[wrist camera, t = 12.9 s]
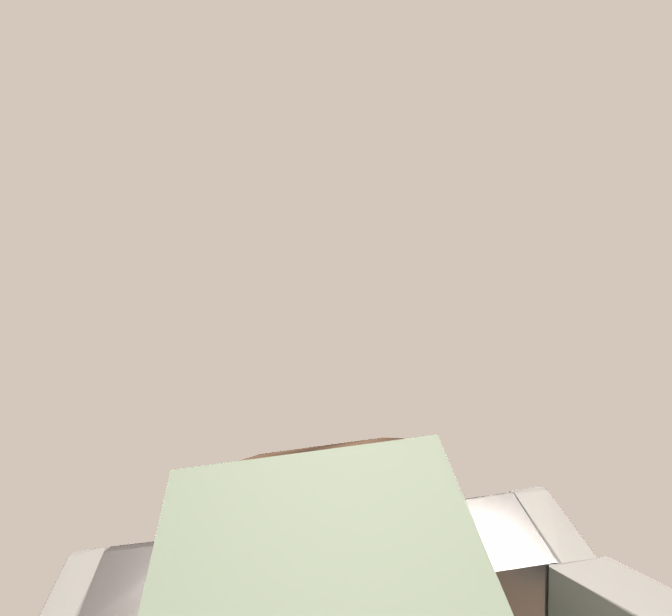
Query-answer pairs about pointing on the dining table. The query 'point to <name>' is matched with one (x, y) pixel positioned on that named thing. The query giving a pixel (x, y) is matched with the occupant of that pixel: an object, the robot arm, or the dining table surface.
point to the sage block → (322, 538)
